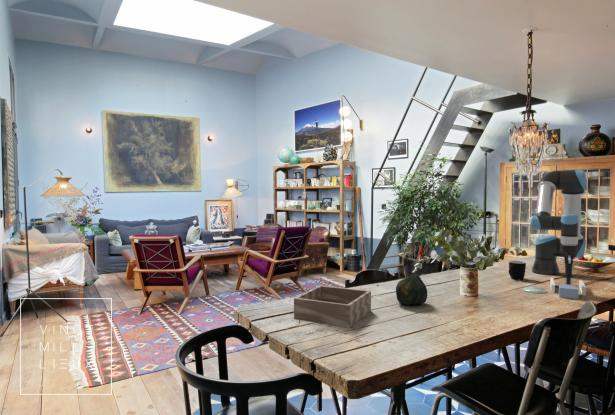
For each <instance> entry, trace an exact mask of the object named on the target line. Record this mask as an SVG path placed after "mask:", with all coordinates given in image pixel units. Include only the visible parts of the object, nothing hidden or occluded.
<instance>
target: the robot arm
mask: <svg viewBox="0 0 615 415" xmlns="http://www.w3.org/2000/svg"><path fill="white" fill-rule="evenodd" d="M587 190H588V182H587V174H586V172H585V170H581V169H567V170H566V169H565V170H561V169H560V170H552V171H549V172H547V173H546V174H544V175H543V176H541V178H539V180H538V183H537V191H538V195H537V203H536V210H535V215H532V216H530V228H531V229H532V230H537V231H560V237H558V236H557V235H554V234H553V235H552V234H551V235H550V234H549V235H541V236H537V237H536V238H535V244H534V245H535V250H534V252H535V253H534V254H535V259H534V261H533V264H532V267H531V272H532V273H534V274H538V275H548V276H554V275H555V276H556V275H559V274H560V269H559V264H558V262H557V258H564V276H563V278H564V285H572V282H573V281H572V278H574V276H573V265H574V259H582V258H583V257H584V256H585V251H586V244H587V239H585V238H584V236H583V235H582V234H581V230H582V229H581V224H582V223H581V222H582V221H581V220H582V218H581V217H582V196H583V195H584V194H585V191H587ZM555 191H561V194H562V195H563V197H564V199H563V214H561V215H560V216H558V215H555V216H554V215H552V213H553V212H552V210H553V201H554V200H553V199H554V193H555Z"/></svg>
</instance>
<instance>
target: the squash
mask: <svg viewBox="0 0 615 415" xmlns="http://www.w3.org/2000/svg"><path fill="white" fill-rule="evenodd" d="M395 294H396V300H397V302H398V304H401V305H403V306H404V305H406V306H409V305H413V306H415V305H423V304H424V303H426V302H427V299H428V289H427V286H426V284H425V283H424V281H423V280H422V278H421V276H420V275H419V274H418V273H417V274H414V273H413V274H412V275H409V276H406V277H405V278H402V279H401V280H399V281H398V282H397V284H396V286H395Z"/></svg>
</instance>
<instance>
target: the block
mask: <svg viewBox="0 0 615 415" xmlns="http://www.w3.org/2000/svg"><path fill="white" fill-rule="evenodd" d="M558 285H559V288H558V296H559V298H562V299H572V300H574V299H575V300H579V294H580V293H579V292H580V289H579V285H572V284H571V285H565V284H558Z"/></svg>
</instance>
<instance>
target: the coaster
mask: <svg viewBox="0 0 615 415" xmlns="http://www.w3.org/2000/svg"><path fill="white" fill-rule="evenodd" d="M522 290H523V291H524V292H527V293H533V294H545V293H547V292H548V290H547V289H545V288H543V287H537V286H525V287H523V289H522Z"/></svg>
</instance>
